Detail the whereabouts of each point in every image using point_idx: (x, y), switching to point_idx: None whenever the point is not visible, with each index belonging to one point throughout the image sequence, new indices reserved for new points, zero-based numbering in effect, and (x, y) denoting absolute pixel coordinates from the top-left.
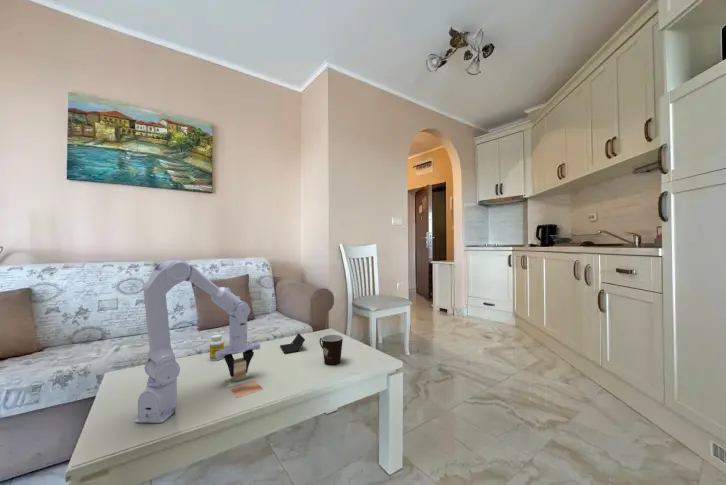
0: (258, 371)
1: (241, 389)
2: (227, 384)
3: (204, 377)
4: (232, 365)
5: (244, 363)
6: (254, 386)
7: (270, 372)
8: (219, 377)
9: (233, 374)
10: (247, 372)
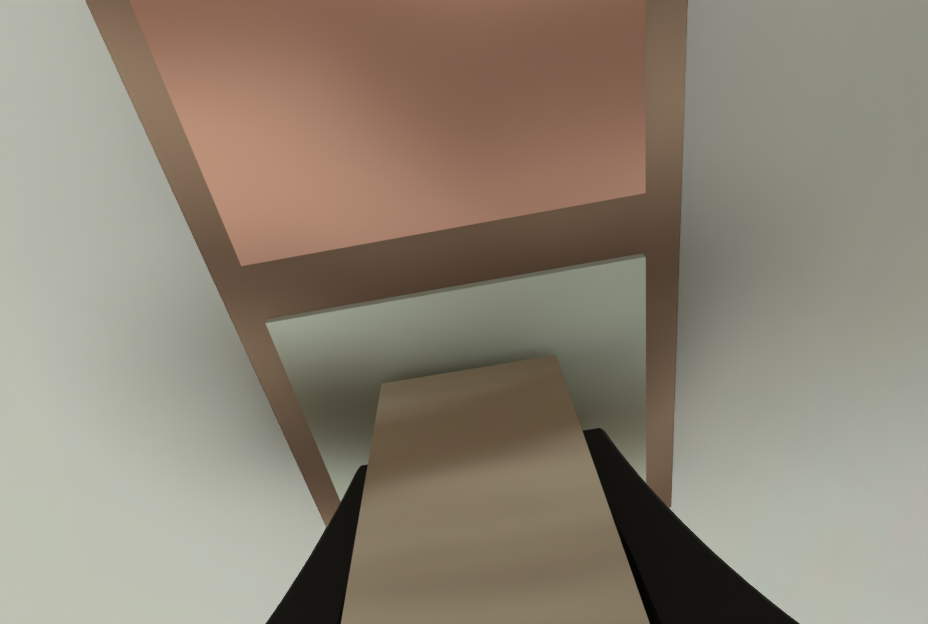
0: (242, 550)
1: (488, 47)
2: (643, 337)
3: None
4: (675, 597)
5: (383, 610)
6: (253, 54)
7: (88, 485)
8: None
9: None
10: None
